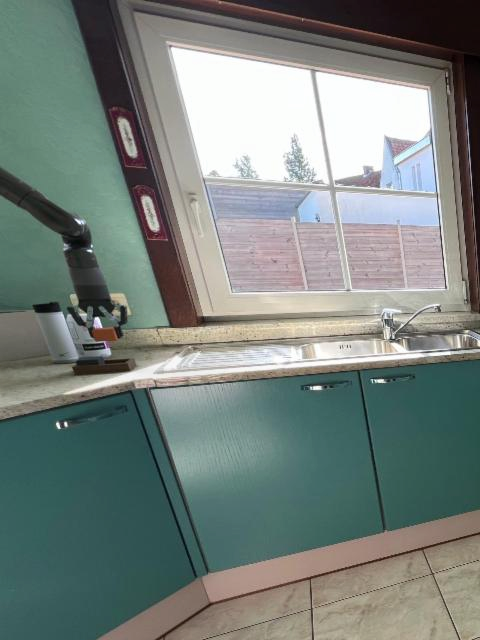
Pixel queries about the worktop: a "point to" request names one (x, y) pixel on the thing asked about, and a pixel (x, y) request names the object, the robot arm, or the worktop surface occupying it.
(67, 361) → the travel mug
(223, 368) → the worktop surface
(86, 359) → the pad
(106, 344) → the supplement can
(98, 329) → the pad
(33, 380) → the worktop surface
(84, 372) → the tray
